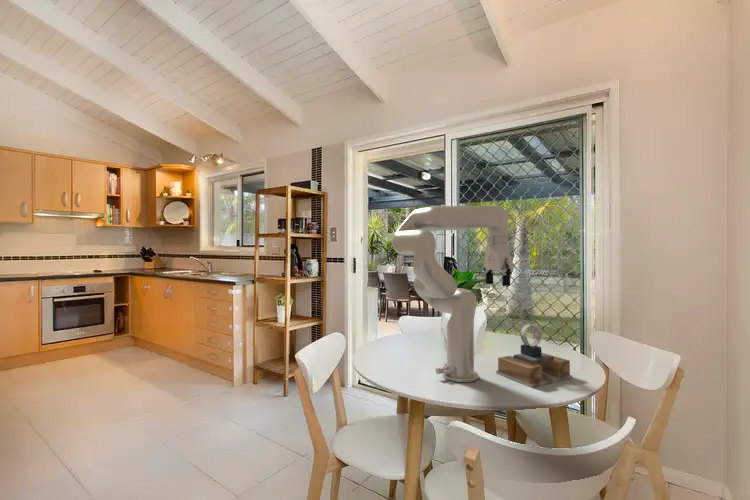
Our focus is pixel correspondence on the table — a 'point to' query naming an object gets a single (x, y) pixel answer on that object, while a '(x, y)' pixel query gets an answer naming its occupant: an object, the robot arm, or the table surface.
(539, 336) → the watch
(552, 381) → the watch stand
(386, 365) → the table surface
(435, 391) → the table surface
